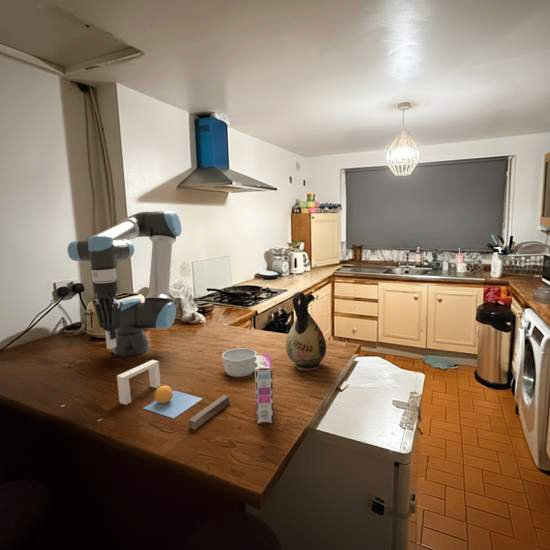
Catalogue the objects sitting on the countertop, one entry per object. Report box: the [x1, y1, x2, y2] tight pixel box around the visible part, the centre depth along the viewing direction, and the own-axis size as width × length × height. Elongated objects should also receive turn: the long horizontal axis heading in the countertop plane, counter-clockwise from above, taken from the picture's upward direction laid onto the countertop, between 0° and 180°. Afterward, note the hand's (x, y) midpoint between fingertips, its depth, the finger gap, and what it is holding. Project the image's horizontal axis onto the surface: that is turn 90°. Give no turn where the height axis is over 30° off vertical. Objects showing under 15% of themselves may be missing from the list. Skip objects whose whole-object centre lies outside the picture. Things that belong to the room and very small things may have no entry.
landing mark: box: [142, 389, 204, 420], centre depth 113 cm, size 13×13×1 cm
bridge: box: [116, 359, 162, 406], centre depth 120 cm, size 3×14×9 cm, turn 151°
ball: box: [154, 385, 173, 404], centre depth 114 cm, size 6×6×6 cm
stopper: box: [188, 394, 230, 431], centre depth 106 cm, size 2×16×2 cm, turn 151°
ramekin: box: [221, 347, 258, 378], centre depth 136 cm, size 13×13×7 cm
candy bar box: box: [254, 354, 274, 425], centre depth 105 cm, size 11×5×16 cm, turn 5°
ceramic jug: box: [285, 291, 327, 371], centre depth 136 cm, size 17×15×30 cm
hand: (111, 347), depth 124 cm, fingers closed
